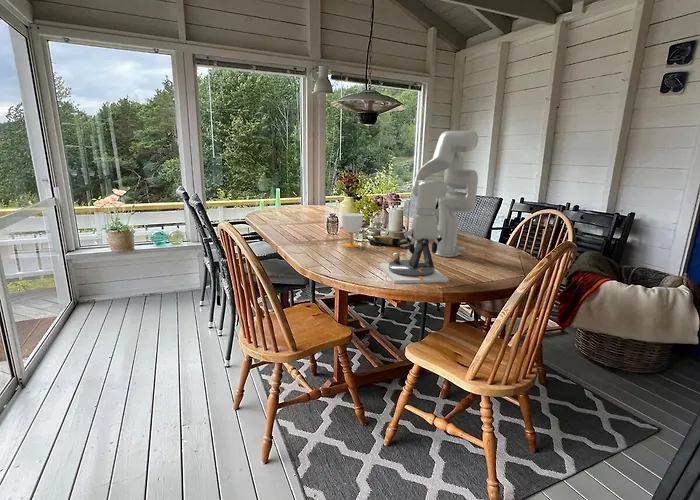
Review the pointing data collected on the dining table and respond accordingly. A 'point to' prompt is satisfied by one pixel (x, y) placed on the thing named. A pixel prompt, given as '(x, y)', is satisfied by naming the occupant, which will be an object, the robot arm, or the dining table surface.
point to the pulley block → (391, 241)
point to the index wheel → (408, 267)
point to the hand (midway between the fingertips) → (422, 252)
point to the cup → (351, 225)
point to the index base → (413, 279)
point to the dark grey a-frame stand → (420, 246)
